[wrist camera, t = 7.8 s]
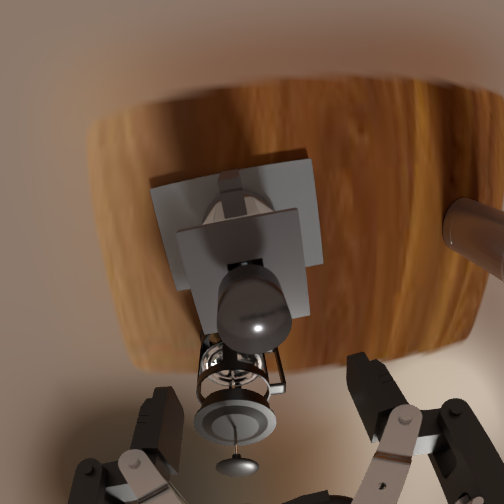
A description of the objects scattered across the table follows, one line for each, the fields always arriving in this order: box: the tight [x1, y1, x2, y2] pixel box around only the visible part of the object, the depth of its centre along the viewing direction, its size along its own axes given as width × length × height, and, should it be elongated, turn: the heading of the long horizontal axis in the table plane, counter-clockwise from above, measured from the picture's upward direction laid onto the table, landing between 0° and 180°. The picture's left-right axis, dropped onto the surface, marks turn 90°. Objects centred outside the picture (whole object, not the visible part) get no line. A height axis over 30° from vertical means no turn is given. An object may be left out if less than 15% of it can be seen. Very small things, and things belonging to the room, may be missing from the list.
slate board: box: [150, 158, 323, 291], centre depth 38 cm, size 20×14×1 cm
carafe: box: [176, 169, 310, 335], centre depth 30 cm, size 9×12×15 cm
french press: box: [194, 329, 286, 477], centre depth 34 cm, size 12×9×23 cm
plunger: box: [217, 260, 292, 354], centre depth 24 cm, size 4×4×15 cm
